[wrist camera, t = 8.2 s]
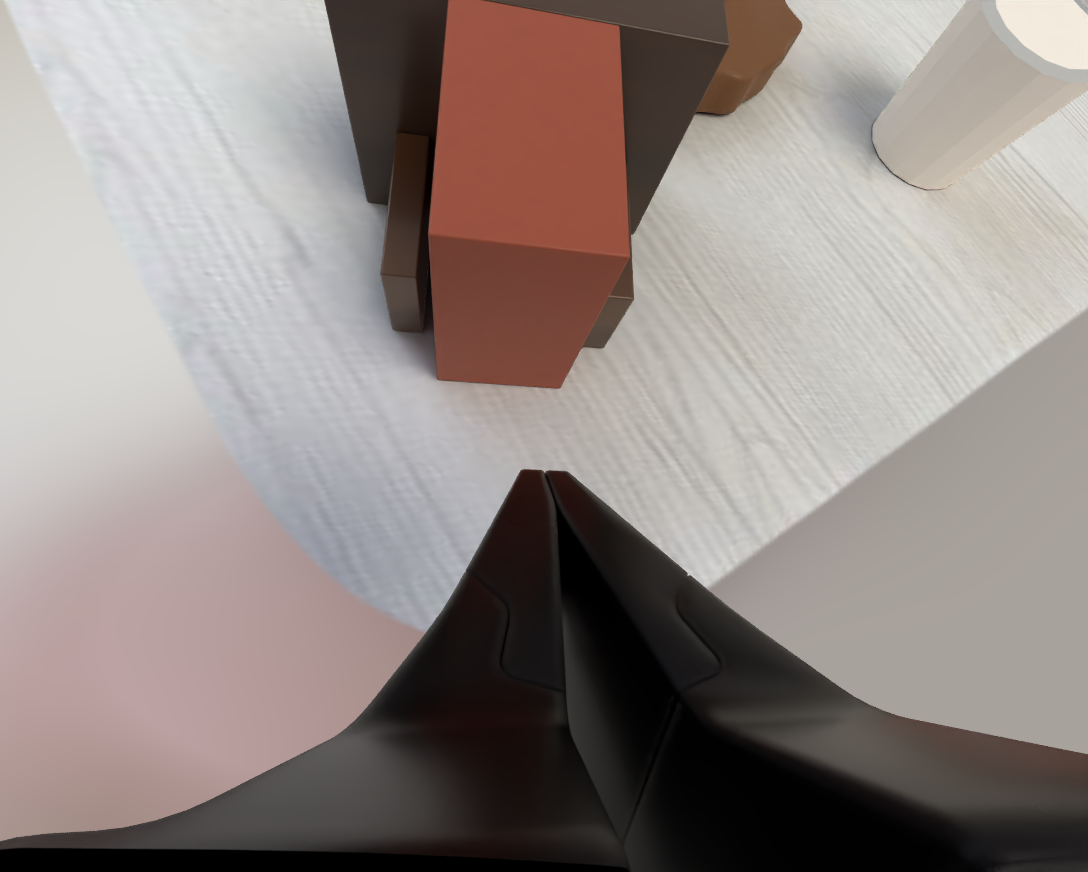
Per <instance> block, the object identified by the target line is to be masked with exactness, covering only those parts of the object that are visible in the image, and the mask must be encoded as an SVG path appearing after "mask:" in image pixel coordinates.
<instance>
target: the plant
mask: <svg viewBox="0 0 1088 872" xmlns="http://www.w3.org/2000/svg"><path fill="white" fill-rule="evenodd" d="M724 3H725V11H726V18H727V26H728V34H729V42H730V46H729V48H728V50H727V52H726V54H725V56H724V58H723V60H722V62H721V63H720V65H719V67H718V69H717V71H716V73H715V75H714V77H713V79H712V81H711V83H710V85H709V87H708V89H707V91H706V93H705V95H704V97H703V99H702V101H701V103H700V105H699V107H698V109H697V111H696V112H708V113H715V114H728V113H732V112H733V111H735V109H736V108H737V107H738V106H739V105H740V104H741V103H742V102H744V101H746V100H748V99H750V98H752V97H753V96H755V95H756V94H757V93H759V92H760V91H761V90H762V89H763V87H764V86H765V85H766V83H767V81H768V80H769V78H770V77H771V75H772V73H773V72H774V70H775V69H776V68H777V67H778V66H779V65H780V64H781V63H782V61H783V60H784V58H785V56H786V55H787V53H788V51H789V50H790V48H791V46H792V45H793V43H794V42H795V40H796V38H797V37H798V35H799V33H800V32H801V29H802V23H801V21H800V20H799V19H798V18H797V17H796V16H795V15H794V13H793V12H792V11H791V10H790V8H789V7H788V6H787V4H786V2H785V0H724Z"/></svg>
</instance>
